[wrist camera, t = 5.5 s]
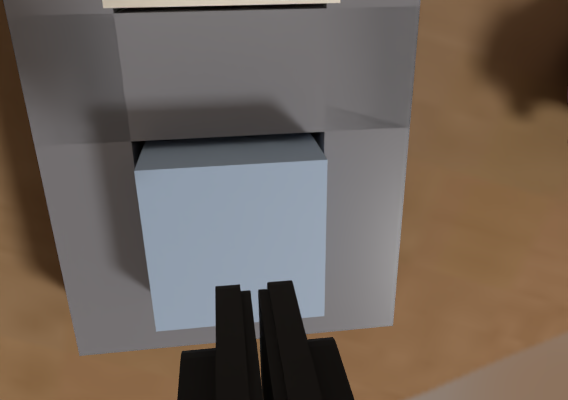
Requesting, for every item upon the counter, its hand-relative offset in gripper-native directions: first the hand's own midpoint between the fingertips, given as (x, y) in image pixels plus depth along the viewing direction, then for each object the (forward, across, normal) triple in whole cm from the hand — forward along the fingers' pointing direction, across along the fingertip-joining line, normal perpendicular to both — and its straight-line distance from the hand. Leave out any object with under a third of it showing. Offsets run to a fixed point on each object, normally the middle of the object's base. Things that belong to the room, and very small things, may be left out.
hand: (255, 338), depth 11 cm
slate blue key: (+9, 0, +1) cm, 10 cm away
